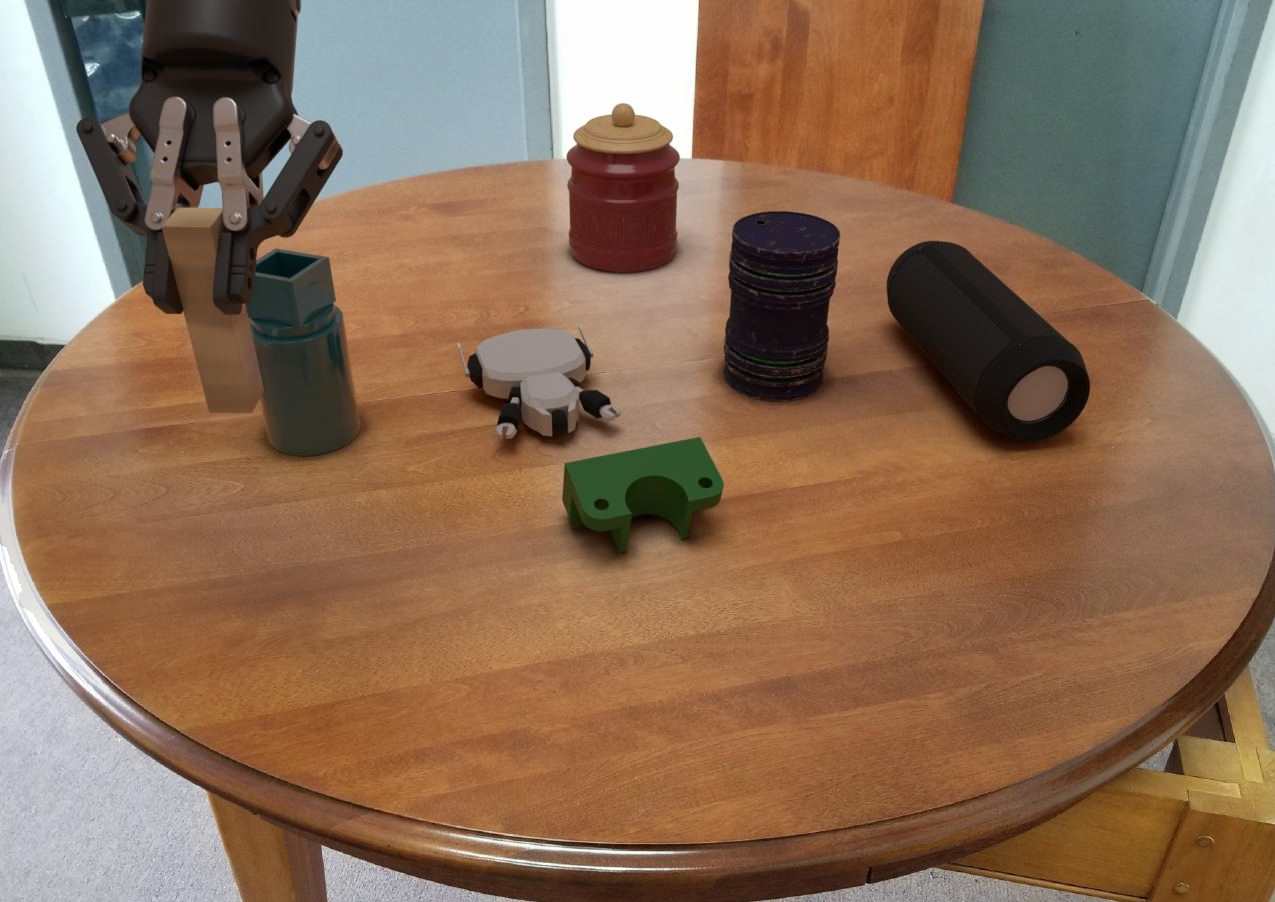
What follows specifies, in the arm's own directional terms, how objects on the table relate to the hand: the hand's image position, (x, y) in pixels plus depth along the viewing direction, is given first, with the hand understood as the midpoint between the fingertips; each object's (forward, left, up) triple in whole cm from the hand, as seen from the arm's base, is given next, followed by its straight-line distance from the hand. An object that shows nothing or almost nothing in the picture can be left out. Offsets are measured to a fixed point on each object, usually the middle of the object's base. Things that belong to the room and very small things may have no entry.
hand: (197, 308), depth 54 cm
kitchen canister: (-4, +74, -28) cm, 79 cm away
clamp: (+16, +24, -28) cm, 40 cm away
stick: (-1, +2, -7) cm, 7 cm away
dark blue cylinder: (+20, +51, -28) cm, 62 cm away
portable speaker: (+38, +57, -28) cm, 74 cm away
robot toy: (+1, +38, -28) cm, 47 cm away
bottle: (-16, +27, -27) cm, 42 cm away
